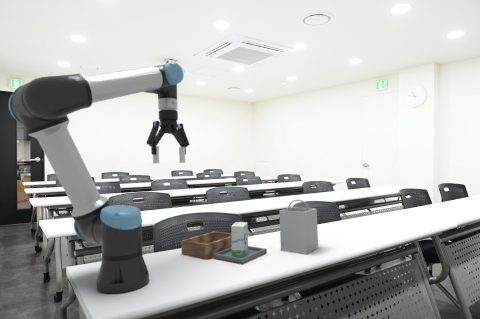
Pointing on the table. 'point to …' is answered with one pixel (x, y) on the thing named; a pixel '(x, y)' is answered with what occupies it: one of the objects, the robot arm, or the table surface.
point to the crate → (206, 244)
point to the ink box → (239, 239)
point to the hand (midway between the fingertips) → (169, 163)
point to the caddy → (298, 230)
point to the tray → (250, 255)
